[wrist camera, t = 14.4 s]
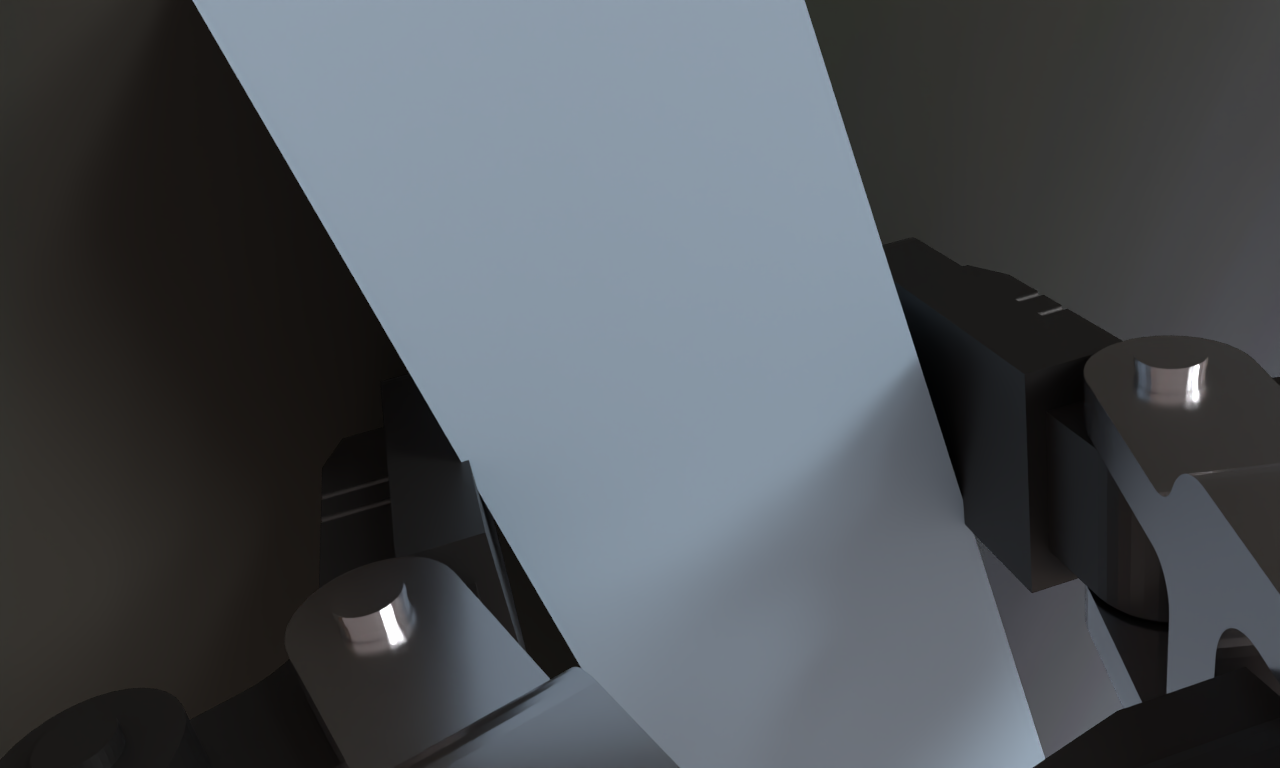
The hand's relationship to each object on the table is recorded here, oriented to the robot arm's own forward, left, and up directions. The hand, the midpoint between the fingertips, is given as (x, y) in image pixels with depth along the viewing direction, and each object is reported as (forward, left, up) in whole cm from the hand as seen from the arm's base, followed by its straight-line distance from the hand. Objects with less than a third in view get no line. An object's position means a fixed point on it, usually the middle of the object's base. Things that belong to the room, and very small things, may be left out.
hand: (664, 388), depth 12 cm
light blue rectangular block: (0, 0, -1) cm, 1 cm away
